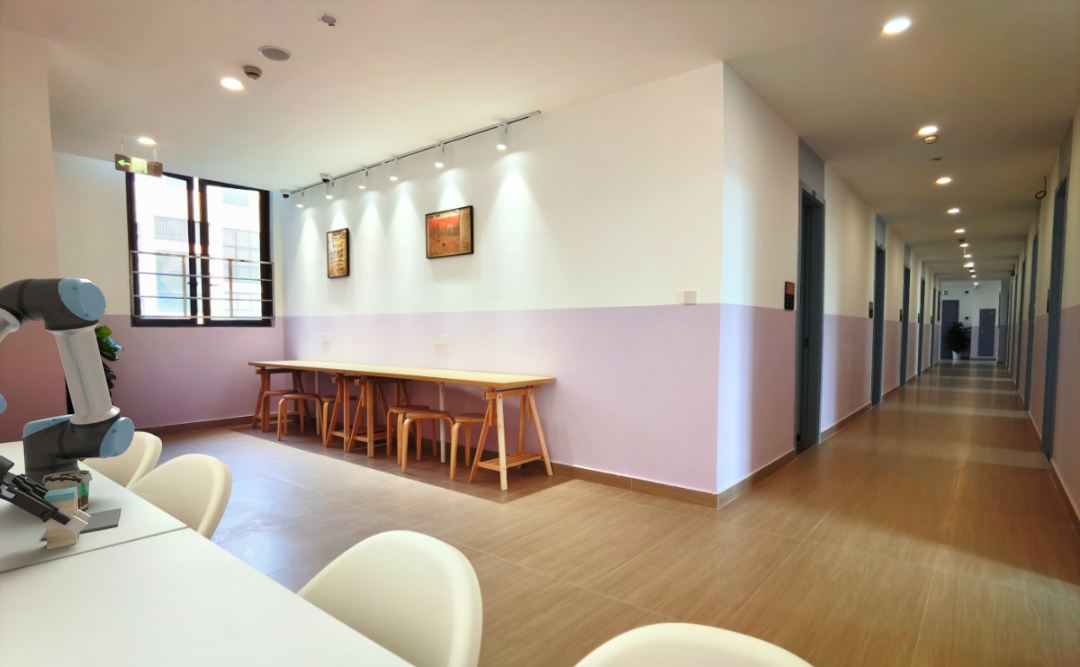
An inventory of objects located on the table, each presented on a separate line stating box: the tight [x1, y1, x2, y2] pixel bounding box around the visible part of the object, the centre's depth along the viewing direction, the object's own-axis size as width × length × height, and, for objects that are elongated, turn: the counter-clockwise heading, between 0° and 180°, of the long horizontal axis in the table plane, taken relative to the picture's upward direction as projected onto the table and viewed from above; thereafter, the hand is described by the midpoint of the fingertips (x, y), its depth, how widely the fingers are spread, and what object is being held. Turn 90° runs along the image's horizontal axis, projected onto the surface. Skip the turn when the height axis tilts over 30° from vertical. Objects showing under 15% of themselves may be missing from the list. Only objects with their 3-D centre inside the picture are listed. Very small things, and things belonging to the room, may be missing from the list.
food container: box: [42, 469, 93, 512], centre depth 146 cm, size 12×6×10 cm, turn 84°
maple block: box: [44, 487, 80, 550], centre depth 123 cm, size 5×5×12 cm
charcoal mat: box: [40, 507, 122, 542], centre depth 135 cm, size 14×14×1 cm
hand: (84, 524), depth 125 cm, fingers closed on maple block, 5 cm apart
